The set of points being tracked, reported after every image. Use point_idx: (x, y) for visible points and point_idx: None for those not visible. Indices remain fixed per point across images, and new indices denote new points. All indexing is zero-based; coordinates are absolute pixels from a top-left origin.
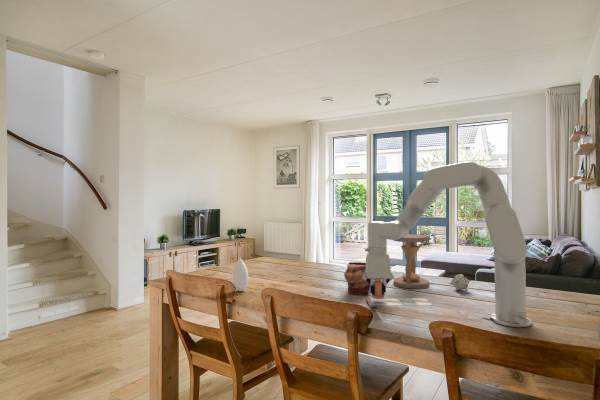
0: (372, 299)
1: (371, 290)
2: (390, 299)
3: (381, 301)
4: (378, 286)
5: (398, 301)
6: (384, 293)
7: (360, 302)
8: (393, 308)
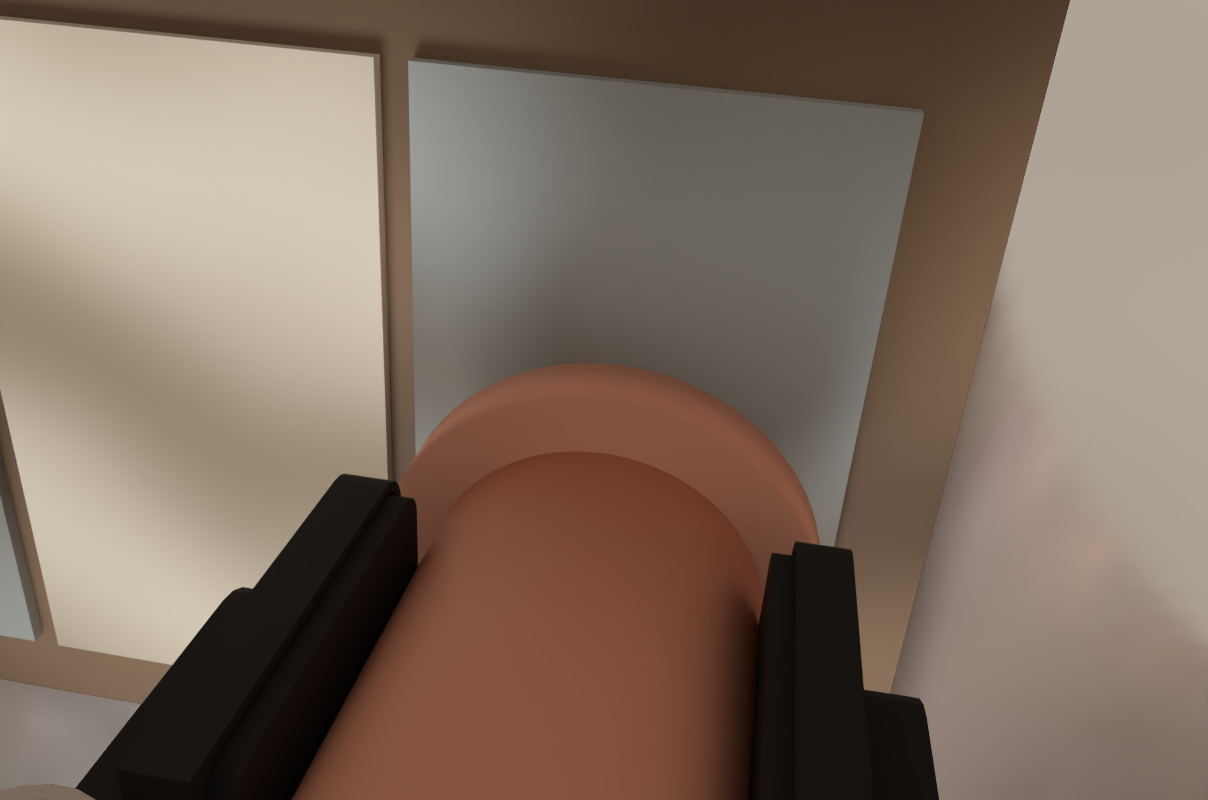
0: None
1: (898, 752)
2: None
3: None
4: (506, 794)
5: (22, 403)
6: (323, 498)
7: (1082, 698)
8: None
